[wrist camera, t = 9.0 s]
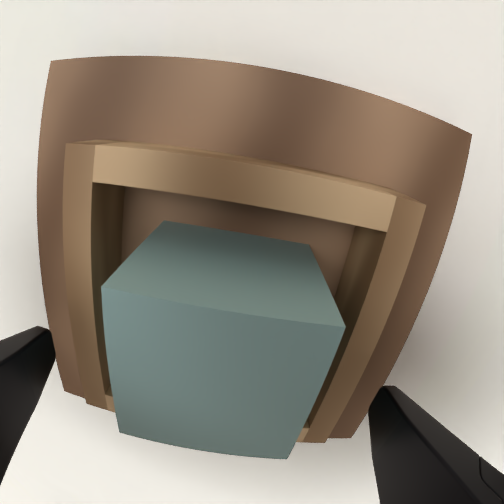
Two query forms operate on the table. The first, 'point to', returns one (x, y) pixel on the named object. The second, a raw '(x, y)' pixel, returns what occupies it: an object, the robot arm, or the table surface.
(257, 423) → the block
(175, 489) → the table surface
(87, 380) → the board
